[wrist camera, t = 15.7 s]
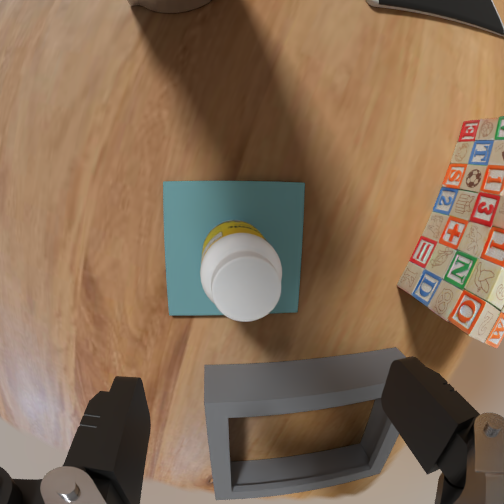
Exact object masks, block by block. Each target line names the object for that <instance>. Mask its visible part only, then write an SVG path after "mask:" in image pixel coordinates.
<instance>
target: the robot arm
mask: <svg viewBox="0 0 504 504" xmlns="http://www.w3.org/2000/svg"><path fill="white" fill-rule="evenodd" d="M210 1H212V0H128V2H129V4H130V6H134V5H141V6H144V7H146V8H148V9H150V10H153V11H156V12H162V13H180V12H185V11H190V10H193V9H196V8H199V7H201V6H203V5H205V4H207V3H209V2H210ZM381 404H382V408H383V410H384V412H385V414H386V415H387V416H388V418H389V419H390V421H391V422H392V424H393V425H394V427H395V428H396V430H397V431H398V432H399V434H400V435H401V437H402V438H403V440H404V441H405V443H406V444H407V446H408V447H409V448H410V450H411V451H412V453H413V454H414V456H415V457H416V459H417V460H418V462H419V463H420V465H421V466H422V468H423V469H424V470H425V472H426V473H427V474H429V473H432V472H434V471H436V470H438V469H441V471H442V474H441V475H440V477H439V481H438V487H437V493H436V499H435V504H504V418H503V417H502V416H500V415H498V414H495V413H483V414H481V415H480V414H479V413H478V412H477V411H476V410H475V409H474V408H473V407H472V406H471V405H470V404H469V403H468V402H467V401H466V400H465V399H464V398H463V397H462V396H461V395H460V394H459V393H458V392H457V391H454V388H453V387H452V386H451V385H450V384H447V381H446V380H445V379H444V378H443V377H442V376H441V375H440V374H439V373H437V372H435V371H433V370H431V369H429V368H427V367H425V366H424V365H423V364H422V363H421V362H420V361H419V360H418V359H417V358H416V357H413V356H412V357H407V358H403V359H398V360H394V361H393V362H392V364H391V366H390V369H389V373H388V376H387V379H386V383H385V386H384V389H383V392H382V396H381ZM150 427H151V424H150V414H149V410H148V405H147V401H146V397H145V392H144V387H143V383H142V380H141V378H137V377H121V376H116V377H115V379H114V381H113V384H112V386H111V389H110V391H109V392H105V391H100V392H99V393H98V394H97V395H95V396H94V397H93V398H92V399H91V400H90V401H89V403H88V405H87V408H86V410H85V412H84V416H83V417H82V420H81V422H80V426H79V427H78V429H77V432H76V434H75V437H74V439H73V442H72V444H71V447H70V449H69V452H68V455H67V457H66V460H65V463H64V465H63V466H62V467H58V468H55V469H53V470H51V471H49V472H48V473H47V474H46V475H45V476H44V478H43V479H40V480H27V479H26V480H24V479H12V478H11V477H10V475H9V474H8V473H7V472H6V471H5V470H4V469H3V468H1V467H0V504H140V498H141V490H142V482H143V475H144V468H145V461H146V455H147V448H148V442H149V436H150Z"/></svg>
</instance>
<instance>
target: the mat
mask: <svg viewBox="0 0 504 504" xmlns="http://www.w3.org/2000/svg"><path fill="white" fill-rule="evenodd" d="M304 193H305V183H299V182H271V181H168V182H163V205H164V240H165V262H166V279H167V293H168V306H169V315H224V314H222V313H221V312H220V311H219V309H218V308H217V307H216V305H215V304H214V303H213V302H212V301H211V300H210V299H209V298H208V296H207V295H206V293H205V291H204V289H203V287H202V283H201V277H200V268H201V258H202V248H203V244H204V241H205V239H206V237H207V235H208V233H209V232H210V231H211V230H212V229H213V228H214V227H215V226H217V225H218V224H220V223H222V222H225V221H229V220H240V221H244V222H247V223H249V224H251V225H253V226H254V227H255V228H256V229H257V230H258V231H259V232H260V233H261V234H262V235H263V236H264V238H265V239H266V240H267V241H268V242H269V243H270V244H271V246H272V247H273V248H274V250H275V251H276V253H277V254H278V256H279V259H280V262H281V266H282V279H281V295H280V298H279V301H278V303H277V304H276V306H275V307H274V309H273V310H272V311H271V312H270V313H291V312H298V300H299V286H300V272H301V256H302V238H303V217H304ZM270 313H269V314H270Z"/></svg>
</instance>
